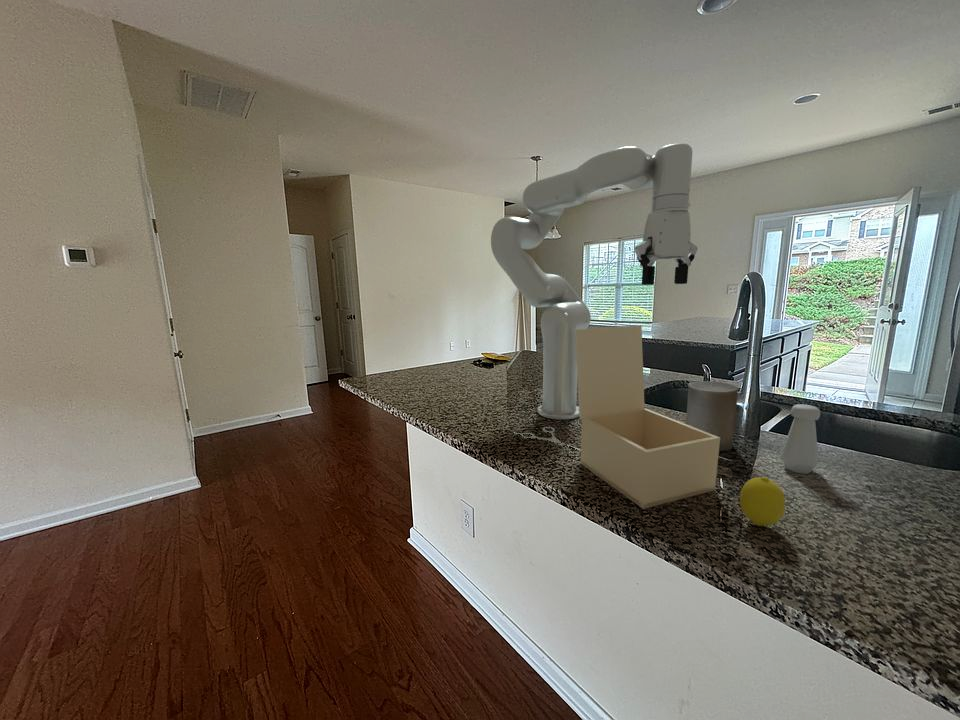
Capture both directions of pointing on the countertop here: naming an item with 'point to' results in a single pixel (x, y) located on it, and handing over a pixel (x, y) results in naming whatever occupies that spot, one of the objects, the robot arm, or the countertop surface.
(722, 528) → the countertop surface
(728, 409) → the pillar candle
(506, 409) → the countertop surface
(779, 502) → the lemon
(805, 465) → the salt shaker
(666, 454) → the carton
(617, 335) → the carton flap
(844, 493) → the countertop surface
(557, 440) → the scissors
